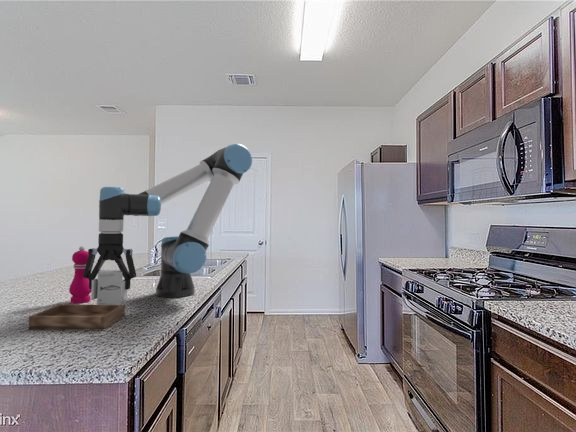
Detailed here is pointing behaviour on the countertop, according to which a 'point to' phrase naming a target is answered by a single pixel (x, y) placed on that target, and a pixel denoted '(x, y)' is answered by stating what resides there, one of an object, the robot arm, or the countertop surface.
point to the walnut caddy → (76, 317)
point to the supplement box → (109, 287)
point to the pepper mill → (80, 278)
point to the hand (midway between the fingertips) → (109, 298)
